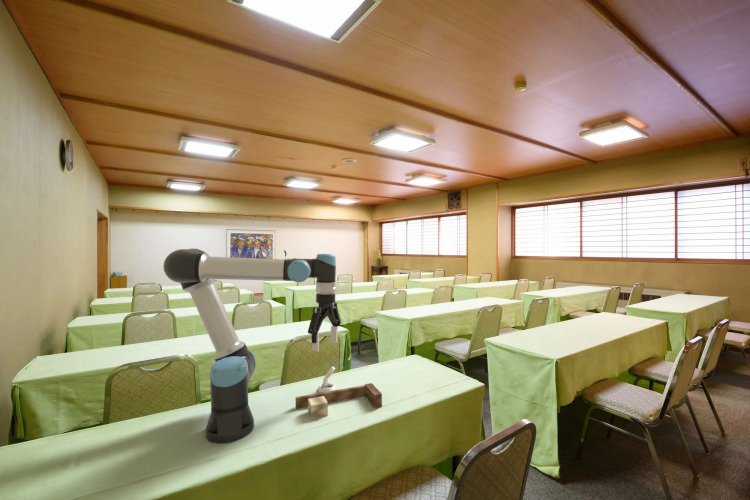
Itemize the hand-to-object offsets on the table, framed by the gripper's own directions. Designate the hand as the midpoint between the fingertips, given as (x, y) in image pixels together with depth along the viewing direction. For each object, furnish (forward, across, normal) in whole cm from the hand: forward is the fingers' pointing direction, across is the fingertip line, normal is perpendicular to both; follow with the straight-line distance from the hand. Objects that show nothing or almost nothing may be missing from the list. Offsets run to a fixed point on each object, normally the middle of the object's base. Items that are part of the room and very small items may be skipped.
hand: (325, 346), depth 135 cm
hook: (+23, +12, +6) cm, 26 cm away
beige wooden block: (+23, -8, -2) cm, 24 cm away
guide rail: (+22, 0, -7) cm, 23 cm away
